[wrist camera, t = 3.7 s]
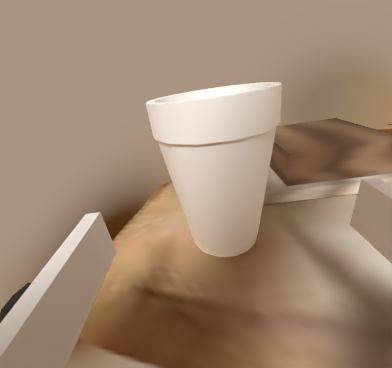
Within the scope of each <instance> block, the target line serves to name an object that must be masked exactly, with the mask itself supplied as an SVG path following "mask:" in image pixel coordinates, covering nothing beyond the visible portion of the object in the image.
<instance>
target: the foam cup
mask: <svg viewBox="0 0 392 368" xmlns="http://www.w3.org/2000/svg"><path fill="white" fill-rule="evenodd" d="M281 93H282V84H281V83H280V82H263V83H252V84H241V85H233V86H224V87H217V88H211V89H203V90H197V91H191V92H186V93H180V94H175V95H170V96H165V97H161V98H157V99H154V100H151V101H147V102H146V107H147V111H148V116H149V119H150V124H151V128H152V132H153V137H154V139H155V140H157V141H158V143H159V146H160V149H161V152H162V155H163V157H164V160H165V163H166V166H167V168H168V171H169V174H170V176H171V179H172V182H173V185H174V188H175V190H176V193H177V196H178V199H179V201H180V204H181V207H182V210H183V212H184V215H185V218H186V221H187V223H188V226H189V229H190V232H191V234H192V237H193V240H194V241H195V245H196V246H197V247H198V248H199V249H201V250H202V251H203V252H204V253H206V254H209V255H213V256H216V257H233V256H237V255H239V254H242V253H244V252H246V251H248V250H250V248H251V247H252V246H253V244H254V243H255V242H256V241H257V236H258V230H259V225H260V219H261V213H262V207H263V201H264V196H265V190H266V184H267V178H268V172H269V167H270V161H271V155H272V149H273V143H274V138H275V132H276V126H277V125H278V124H280V114H281Z"/></svg>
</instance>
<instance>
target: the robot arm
mask: <svg viewBox="0 0 392 368" xmlns="http://www.w3.org/2000/svg"><path fill="white" fill-rule="evenodd" d="M350 225H351V226H352V227H353V228H354V229H355V230H356V231H357V232H358V233H359V234H361V235H362V236H363V237H364V238H365V239H366V240H367V241H368V242H369V243H370V244H371V245H372V246H373V247H374V248H376V249H377V250H378V251H379V252H380V253H381V254H382V255H383V256H384V257H385V258H386V259H387V260H388V261H389V262H391V263H392V185H390V184H388V183H387V182H385V181H383V180H381V179H379V178H370V179H362V180H361V182H360V186H359V190H358V194H357V198H356V202H355V206H354V210H353V214H352V218H351V222H350ZM116 252H117V251H116V249H115V247H114V244H113V242H112V239H111V237H110V235H109V232H108V230H107V228H106V225H105V223H104V221H103V218H102V216H101V213H100V212H99V213H91V214H86V215H85V216H84V217H83V218H82V220H81V221H80V222H79V224H78V225H77V226H76V227H75V229H74V230H73V231H72V232H71V234H70V235H69V236H68V238H67V239H66V240H65V241H64V243H63V244H62V245H61V246H60V248H59V249H58V250H57V252H56V253H55V254H54V255H53V257H52V258H51V259H50V261H49V262H48V263H47V264H46V266H45V267H44V268H43V269H42V271H41V272H40V273H39V275H38V276H37V277H36V278H35V280H34V281H33V282H32V283H27V284H26V285H25V286H24V287H23V288H21V289H20V290H19V291H18V292H17V293H15V294H14V295H13V296H12V297H11V299H10V300H9V301H8V302H7V303H6V305H5V306H4V307H3V308H2V309H1V312H0V368H66V366H67V363H68V361H69V359H70V356H71V354H72V352H73V350H74V347H75V345H76V343H77V340H78V338H79V336H80V334H81V331H82V329H83V327H84V325H85V322H86V320H87V318H88V315H89V313H90V311H91V309H92V306H93V304H94V302H95V299H96V297H97V295H98V293H99V290H100V288H101V286H102V283H103V281H104V279H105V277H106V274H107V272H108V270H109V268H110V265H111V263H112V261H113V258H114V256H115V254H116Z"/></svg>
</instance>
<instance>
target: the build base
mask: <svg viewBox="0 0 392 368" xmlns="http://www.w3.org/2000/svg"><path fill="white" fill-rule="evenodd" d="M370 178H379V179H381V180H383V181H385V182H387V183H388V184H390V185H392V134H389V133H386V132H382V131H379V130H375V129H371V128H368V127H365V126H361V125H358V124H354V123H351V122H347V121H343V120H340V119H337V118H334V119H327V120H320V121H312V122H305V123H298V124H292V125H284V126H276V132H275V138H274V143H273V149H272V155H271V161H270V167H269V172H268V178H267V184H266V190H265V196H264V201H263V205H267V204H275V203H283V202H292V201H300V200H309V199H317V198H325V197H334V196H342V195H350V194H358V190H359V186H360V182H361V180H362V179H370Z"/></svg>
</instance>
